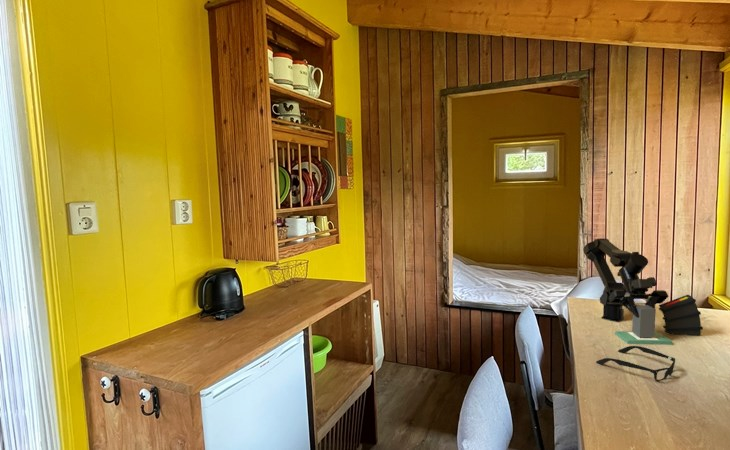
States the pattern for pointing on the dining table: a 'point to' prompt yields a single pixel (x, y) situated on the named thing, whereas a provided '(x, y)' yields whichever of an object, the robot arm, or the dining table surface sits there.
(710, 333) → the dining table surface
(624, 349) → the glasses
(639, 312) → the block
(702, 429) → the dining table surface
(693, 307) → the magazine
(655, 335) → the board
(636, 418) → the dining table surface
